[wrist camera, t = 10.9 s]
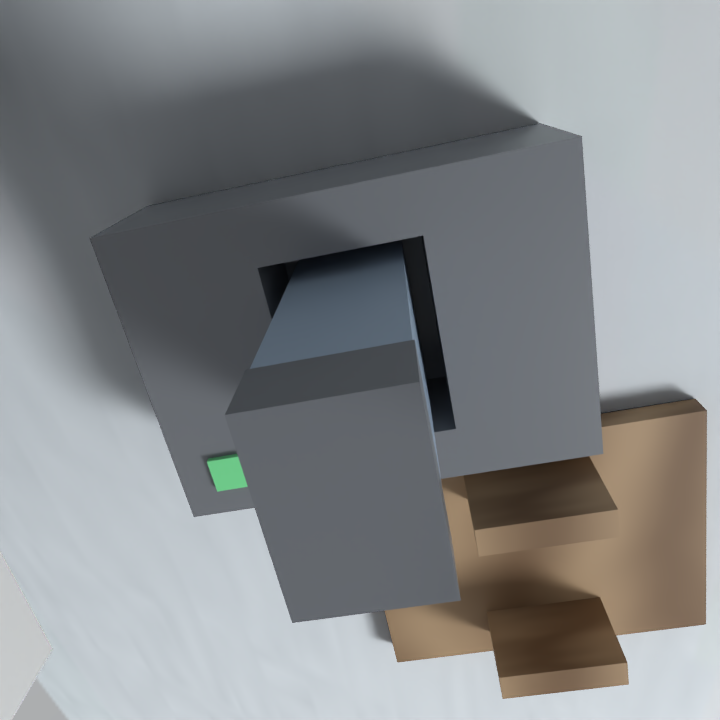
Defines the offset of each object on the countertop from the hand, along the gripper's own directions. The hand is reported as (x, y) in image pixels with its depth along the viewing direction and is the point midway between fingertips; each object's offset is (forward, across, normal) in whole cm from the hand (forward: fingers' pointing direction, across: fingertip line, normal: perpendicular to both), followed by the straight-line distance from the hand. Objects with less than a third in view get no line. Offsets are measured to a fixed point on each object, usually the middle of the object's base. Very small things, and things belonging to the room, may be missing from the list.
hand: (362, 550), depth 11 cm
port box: (+14, -1, 0) cm, 14 cm away
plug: (+13, -1, 0) cm, 13 cm away
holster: (+14, +4, -12) cm, 19 cm away
